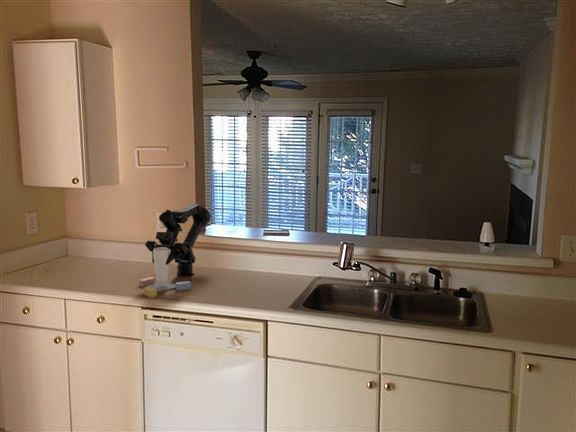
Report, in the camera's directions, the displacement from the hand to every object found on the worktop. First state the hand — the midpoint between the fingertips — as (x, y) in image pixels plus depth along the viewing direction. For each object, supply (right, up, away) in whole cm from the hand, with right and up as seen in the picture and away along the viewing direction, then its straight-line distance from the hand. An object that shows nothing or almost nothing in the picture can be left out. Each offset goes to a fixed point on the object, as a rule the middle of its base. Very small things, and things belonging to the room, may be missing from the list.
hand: (159, 263), depth 212 cm
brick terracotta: (-8, -11, +7) cm, 15 cm away
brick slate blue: (+10, -12, +1) cm, 15 cm away
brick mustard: (-2, -13, -8) cm, 15 cm away
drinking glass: (0, -8, +3) cm, 9 cm away
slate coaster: (0, -11, +3) cm, 11 cm away
